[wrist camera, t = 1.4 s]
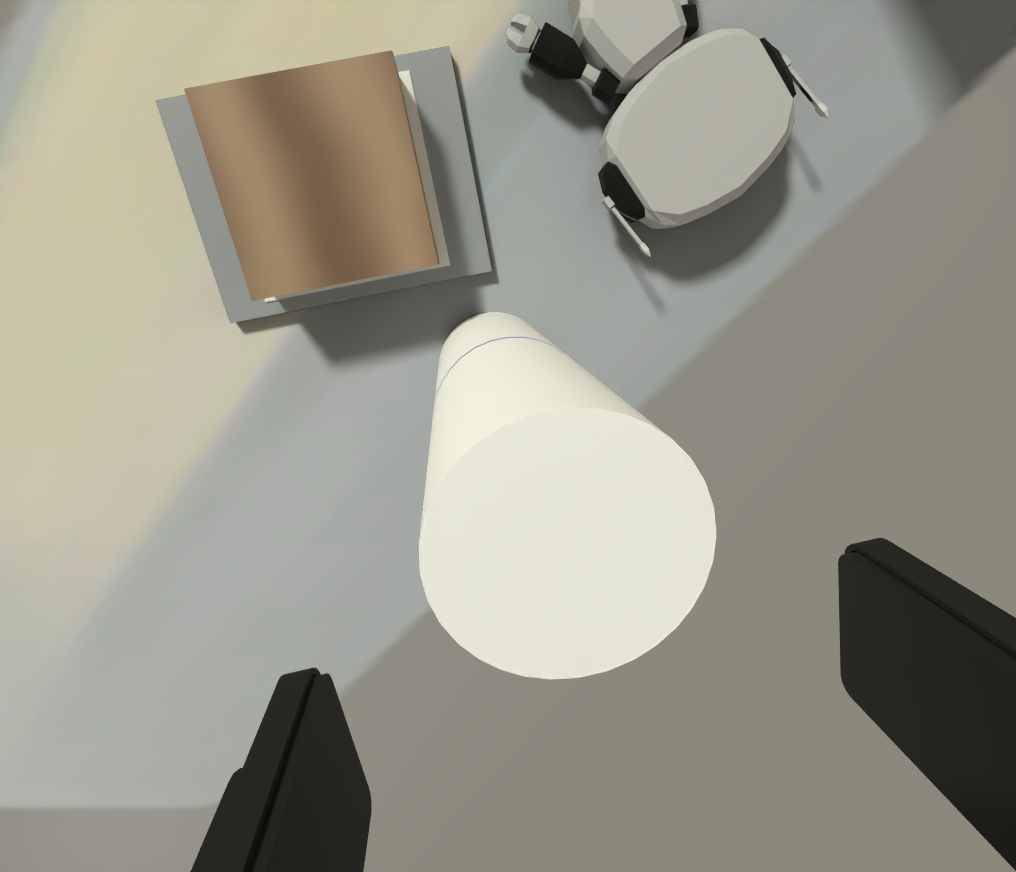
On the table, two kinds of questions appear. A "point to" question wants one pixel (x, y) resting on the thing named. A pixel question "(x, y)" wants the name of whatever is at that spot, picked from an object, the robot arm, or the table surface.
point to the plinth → (316, 174)
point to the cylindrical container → (553, 510)
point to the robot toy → (671, 104)
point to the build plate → (442, 179)
